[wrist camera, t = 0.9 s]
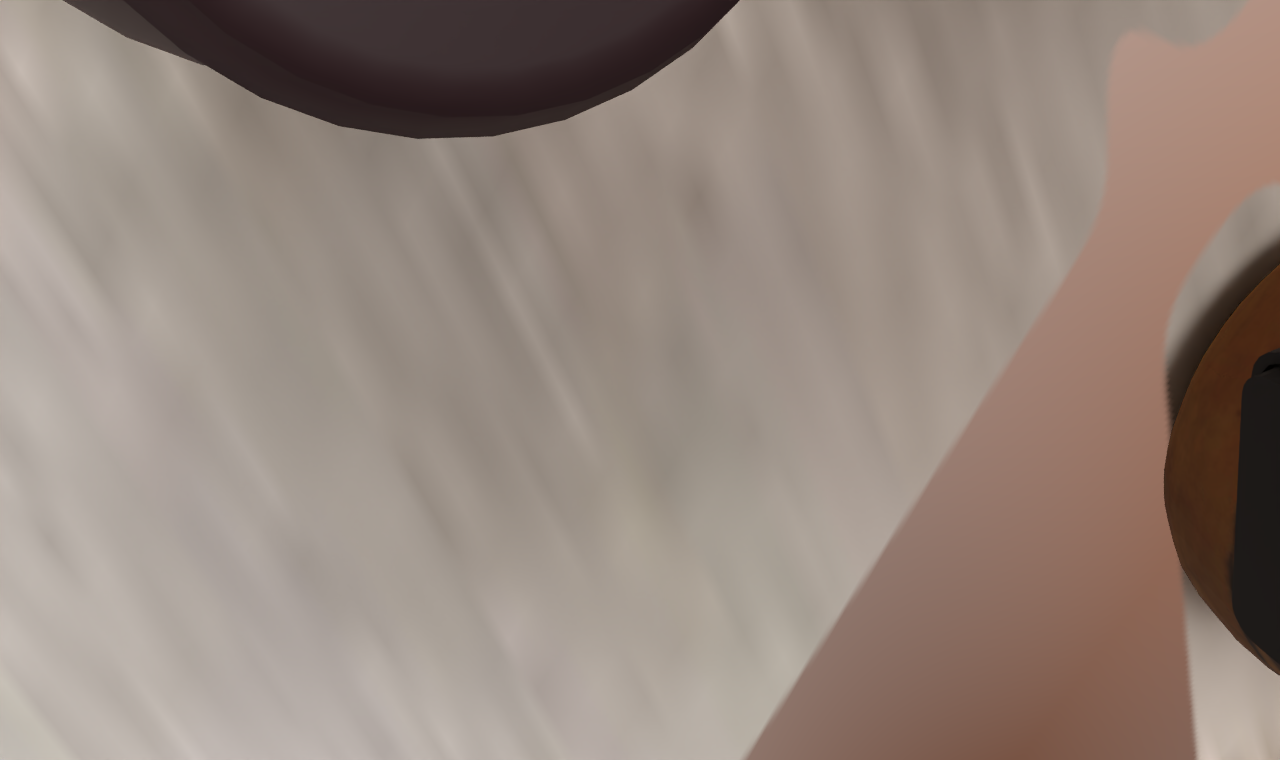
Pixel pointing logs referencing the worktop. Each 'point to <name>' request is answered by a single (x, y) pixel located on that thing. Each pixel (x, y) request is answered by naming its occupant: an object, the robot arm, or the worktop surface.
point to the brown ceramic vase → (1217, 454)
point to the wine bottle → (423, 54)
